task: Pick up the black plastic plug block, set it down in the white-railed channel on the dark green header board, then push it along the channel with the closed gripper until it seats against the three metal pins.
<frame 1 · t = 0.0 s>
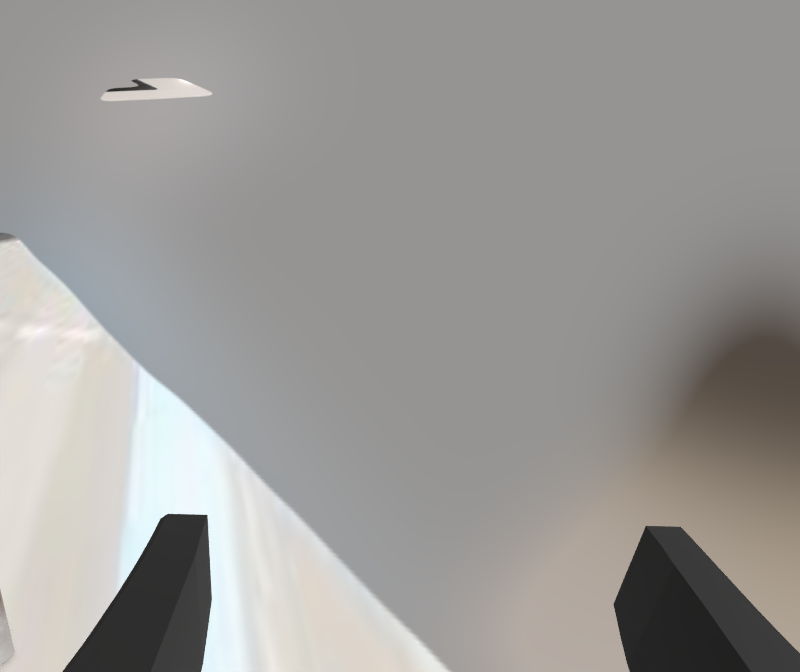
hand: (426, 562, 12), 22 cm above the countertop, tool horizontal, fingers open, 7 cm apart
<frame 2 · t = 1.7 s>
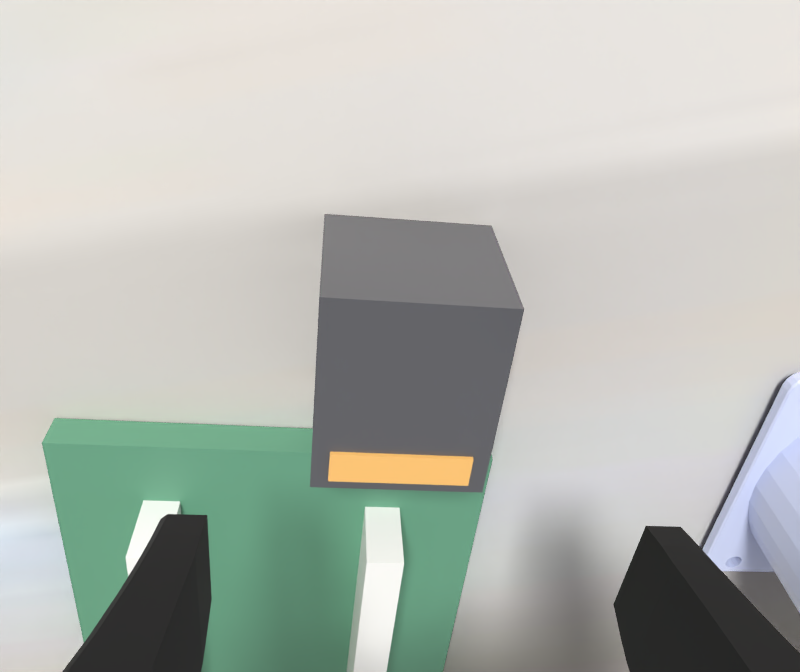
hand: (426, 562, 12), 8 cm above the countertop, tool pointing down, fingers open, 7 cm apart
plug: (398, 307, 19), on the countertop
header board: (274, 588, 24), on the countertop
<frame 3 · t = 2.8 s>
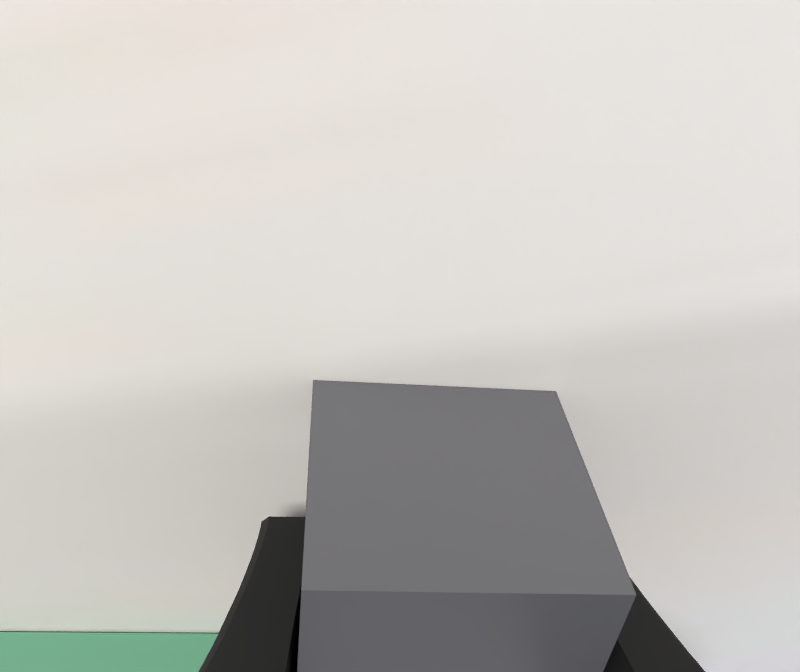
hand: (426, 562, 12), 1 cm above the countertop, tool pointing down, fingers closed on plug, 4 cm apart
plug: (418, 496, 13), on the countertop, touching gripper
when the fingers open (4 cm above the countertop, at t = 5.5 s): plug drops 1 cm, resting on header board.
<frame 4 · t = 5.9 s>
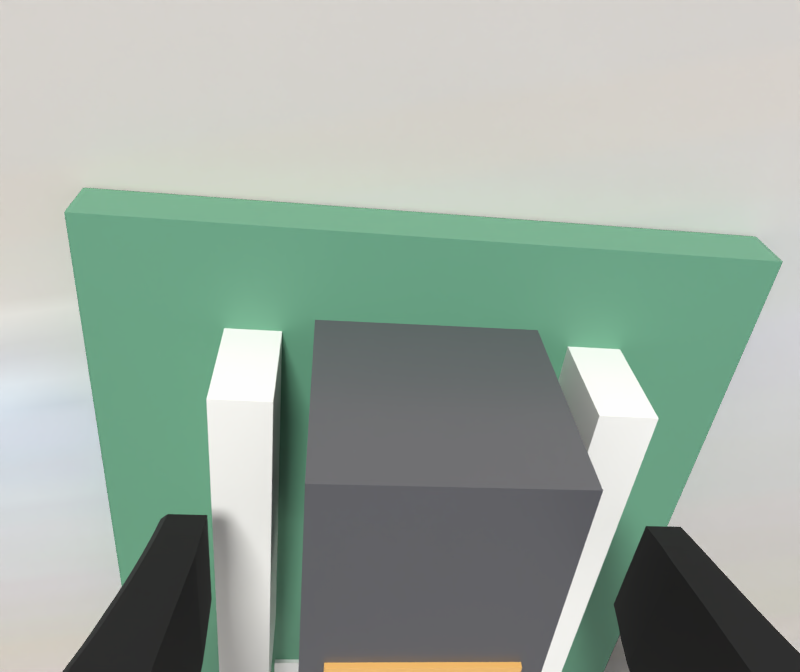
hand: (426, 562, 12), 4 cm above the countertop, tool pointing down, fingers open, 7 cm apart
plug: (413, 432, 14), point 1 cm above the countertop, touching header board
header board: (396, 497, 17), on the countertop
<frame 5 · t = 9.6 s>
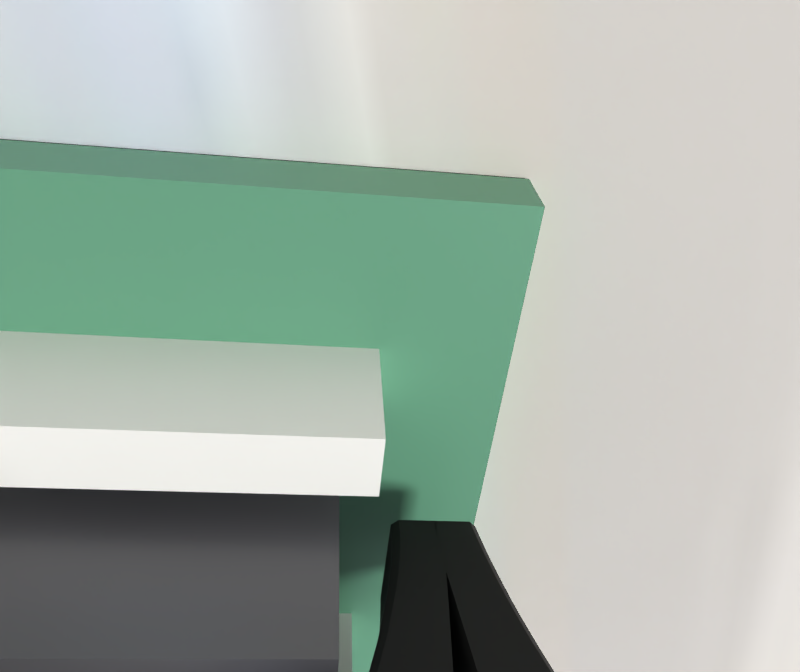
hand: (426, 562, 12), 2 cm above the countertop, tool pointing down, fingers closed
plug: (183, 512, 12), point 1 cm above the countertop, touching gripper
header board: (79, 470, 13), on the countertop
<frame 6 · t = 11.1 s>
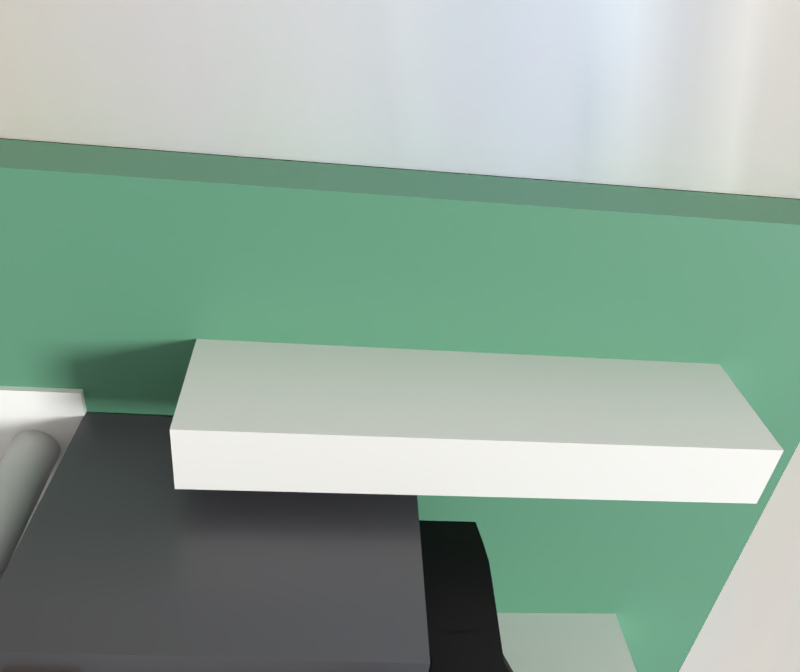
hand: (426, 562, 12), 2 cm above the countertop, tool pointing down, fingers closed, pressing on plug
plug: (252, 512, 12), point 1 cm above the countertop, touching gripper, header board
header board: (378, 477, 14), on the countertop
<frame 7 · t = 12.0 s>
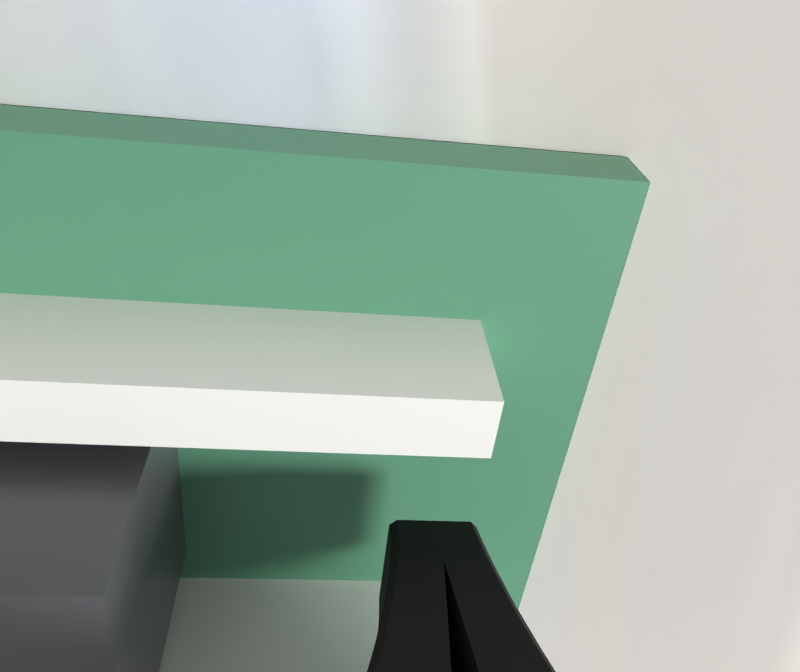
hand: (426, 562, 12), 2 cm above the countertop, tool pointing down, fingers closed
plug: (27, 468, 12), point 1 cm above the countertop, touching header board
header board: (173, 440, 13), on the countertop
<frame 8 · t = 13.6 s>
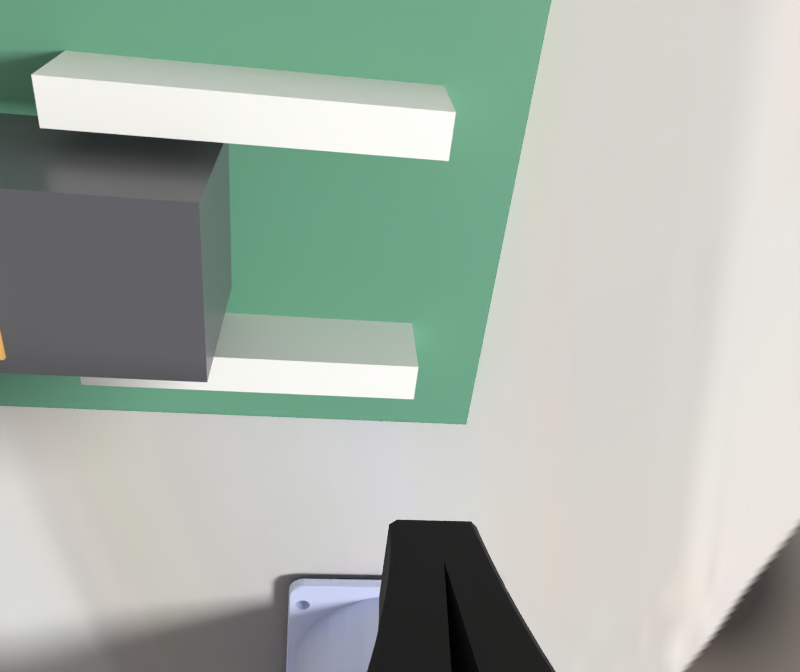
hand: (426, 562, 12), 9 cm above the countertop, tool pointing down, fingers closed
plug: (121, 206, 17), point 1 cm above the countertop, touching header board
header board: (223, 203, 18), on the countertop
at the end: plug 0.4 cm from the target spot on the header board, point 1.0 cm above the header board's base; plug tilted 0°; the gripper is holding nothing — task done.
